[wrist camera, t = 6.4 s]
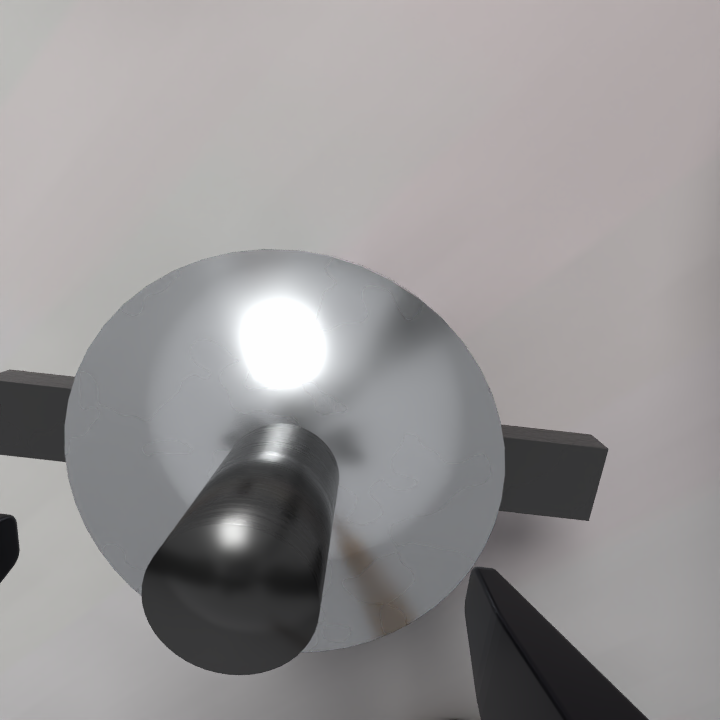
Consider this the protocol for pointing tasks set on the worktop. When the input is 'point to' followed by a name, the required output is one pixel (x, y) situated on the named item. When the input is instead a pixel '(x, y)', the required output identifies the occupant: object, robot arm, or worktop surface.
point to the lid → (282, 456)
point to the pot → (522, 445)
